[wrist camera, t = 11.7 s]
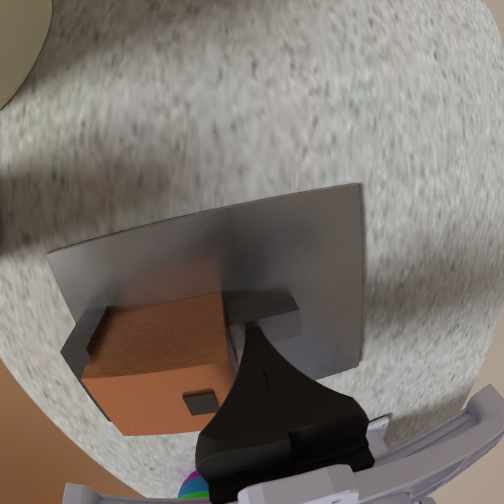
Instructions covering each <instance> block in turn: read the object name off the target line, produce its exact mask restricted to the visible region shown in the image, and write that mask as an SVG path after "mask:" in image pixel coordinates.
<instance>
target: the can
mask: <svg viewBox="0 0 504 504" xmlns="http://www.w3.org/2000/svg"><path fill="white" fill-rule="evenodd" d="M51 17H52V0H0V109H1V108H2V107H3V106H4V105H5V104H6V103H7V102H8V101H9V100H10V99H11V98H12V96H13V95H14V94H15V93H16V91H17V90H18V89H19V87H20V86H21V84H22V83H23V81H24V80H25V79H26V77H27V75H28V74H29V72H30V70H31V69H32V67H33V65H34V63H35V62H36V60H37V58H38V56H39V54H40V51H41V49H42V47H43V44H44V42H45V39H46V37H47V33H48V30H49V27H50V23H51Z"/></svg>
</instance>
